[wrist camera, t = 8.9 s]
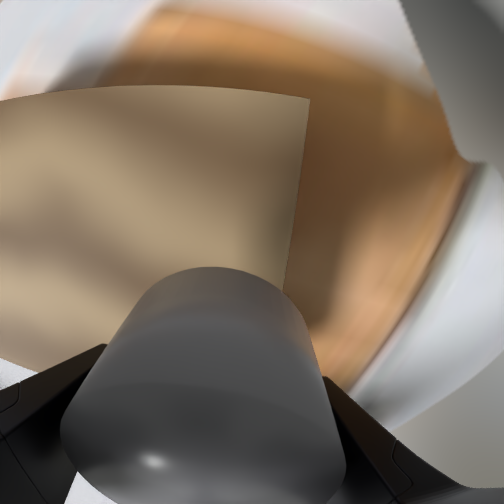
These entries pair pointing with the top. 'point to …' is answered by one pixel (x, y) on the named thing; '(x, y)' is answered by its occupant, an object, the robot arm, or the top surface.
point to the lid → (135, 202)
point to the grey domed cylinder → (207, 400)
